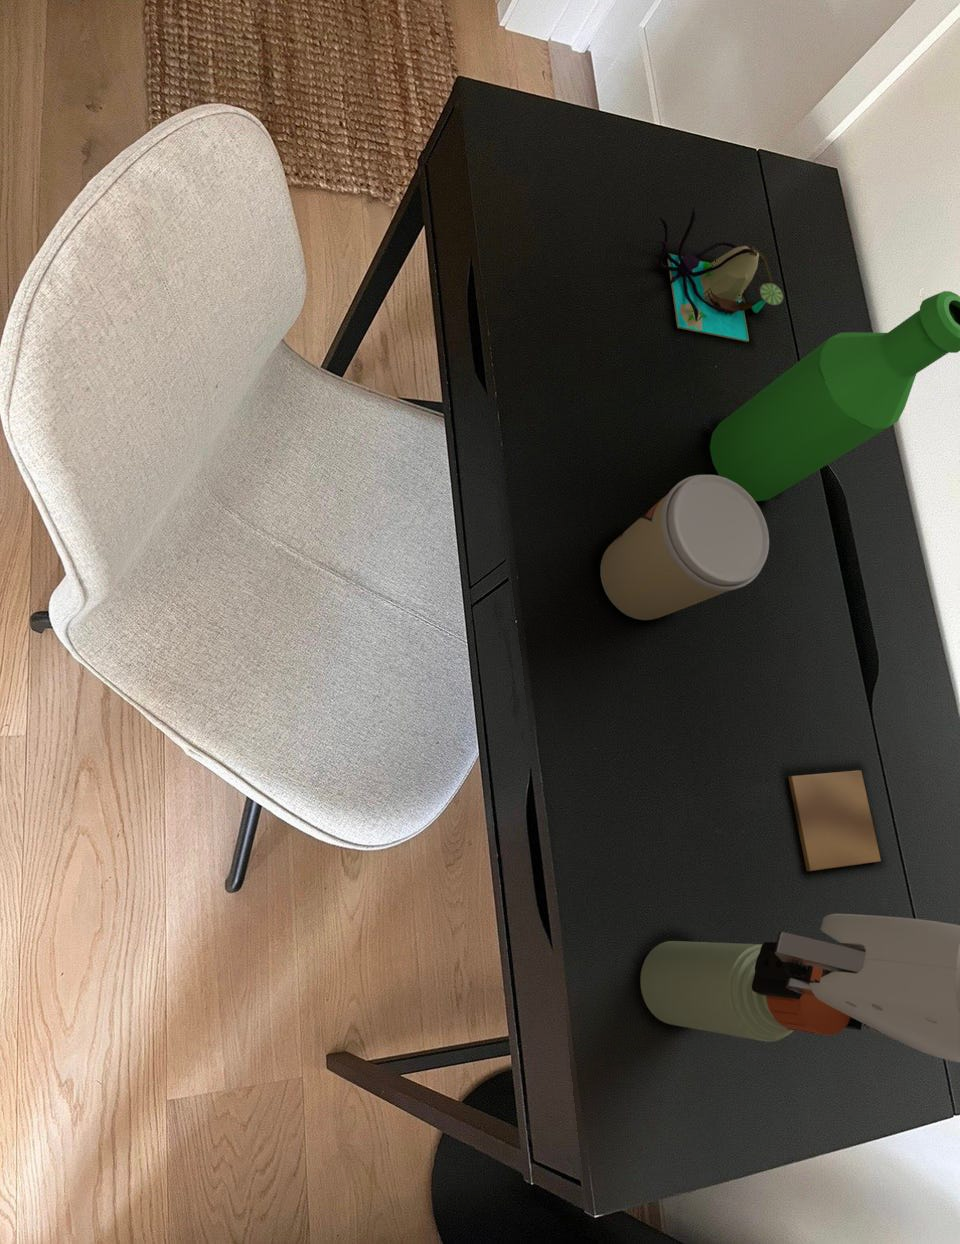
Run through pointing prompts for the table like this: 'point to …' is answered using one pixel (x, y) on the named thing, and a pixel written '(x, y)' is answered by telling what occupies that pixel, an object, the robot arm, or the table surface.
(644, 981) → the sauce bottle
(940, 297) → the bottle
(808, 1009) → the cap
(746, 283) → the diorama
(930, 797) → the table surface
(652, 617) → the coffee cup
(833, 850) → the coaster
